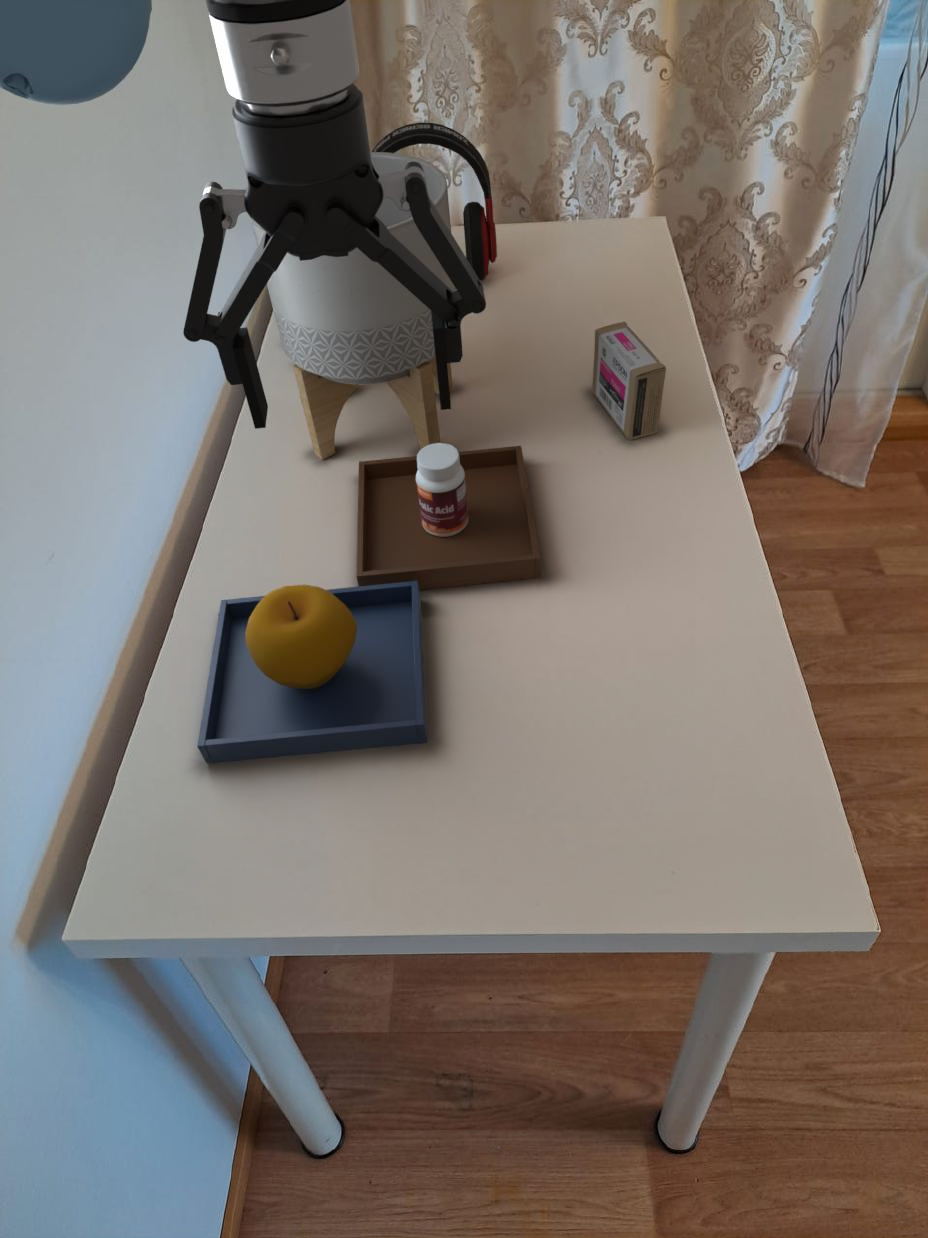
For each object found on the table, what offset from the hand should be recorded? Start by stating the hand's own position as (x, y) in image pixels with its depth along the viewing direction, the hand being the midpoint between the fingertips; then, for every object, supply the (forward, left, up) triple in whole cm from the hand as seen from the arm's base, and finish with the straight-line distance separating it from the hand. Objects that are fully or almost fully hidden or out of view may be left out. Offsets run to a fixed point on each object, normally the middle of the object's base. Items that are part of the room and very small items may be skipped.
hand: (353, 408), depth 67 cm
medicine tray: (+5, +12, -23) cm, 26 cm away
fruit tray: (-7, -6, -23) cm, 25 cm away
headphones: (+6, +63, -23) cm, 67 cm away
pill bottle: (+5, +11, -22) cm, 26 cm away
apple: (-7, -6, -22) cm, 24 cm away
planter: (-1, +31, -23) cm, 38 cm away
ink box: (+26, +28, -23) cm, 45 cm away
